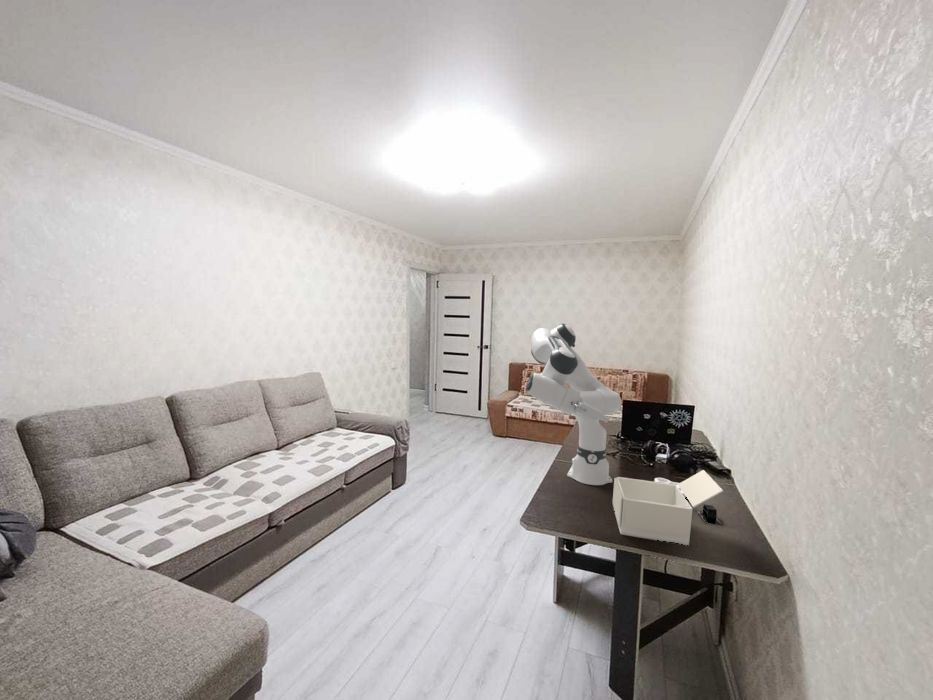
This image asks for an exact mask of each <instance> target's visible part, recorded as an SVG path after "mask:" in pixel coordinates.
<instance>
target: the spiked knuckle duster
mask: <svg viewBox="0 0 933 700" xmlns="http://www.w3.org/2000/svg"><path fill="white" fill-rule="evenodd" d="M653 482H660V483H667V484H674V485H676V486H677V487H678V488H679V490H680V491H681V493H682V494H683V496H684V497H685V498H686V496H685V495H684V493H683V492H682V490H681V489H680V487H679V486H678V484H679V483H680V482H676V481H675V482H674V481H671V480H669V479H667V478H664V477H655V478H654V480H653Z"/></svg>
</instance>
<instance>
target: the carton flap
mask: <svg viewBox="0 0 933 700" xmlns="http://www.w3.org/2000/svg"><path fill="white" fill-rule="evenodd" d="M678 483H679V484H678V486H679V487H680V489H681V490H682V492H683V493H684V495H685V498H686V497H687V498H686V499H688V500H689V502H688V503H689V504H690V505H691V507H692V508H696V507H698V506H699V505H702V504H703V503H705V502H707V501H709V500H711V499H712V498H714V497H716V496H718V495H720V494H721V493H723V492H724V490H723V489H722V488H721V487H720V485H719V484H718V483H717V482H716V481H715V480H714V479H713V478H712V477H711V476H710V475H709V474H708V473H707V472H706V471H705V470H704V469H702V470H700V471H699V472H697V473H696V474H693V475H691V476H690V477H688V478H687V479H685V480H683V481H681V482H678Z"/></svg>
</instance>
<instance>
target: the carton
mask: <svg viewBox="0 0 933 700" xmlns="http://www.w3.org/2000/svg"><path fill="white" fill-rule="evenodd" d="M613 479H614V480H613V492H612V493H613V494H612V507H613V512H614V511H615V512H614V515H615V518H616V524H617V526H618V529H619V530H618V531H619V533H620V535H622V536H627V537H635V538H641V539H645V540H646V539H647V540H653V541H657V540H659V541H658V542H663V541H666V542H665V543H669V542H675V543H679V544H678V545H681V544H683V546H687V545H688V546H690V536H691V529H692V526H691V525H692V517H693V506H692V505H691V503H690V502H688V501H687V500H686V499H687V498H686V496H685V497H684V496H683V494H682V493H681V491H680V490H679V488H678V487H677V486H676V485H674V484H667V483H660V482H654V480H653V481H652V480H645V479H636V478H630V477H623V476H622V477H621V476H617V477H614V478H613ZM685 498H686V499H685ZM675 543H674V544H675ZM688 546H687V547H688Z"/></svg>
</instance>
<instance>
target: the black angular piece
mask: <svg viewBox="0 0 933 700" xmlns="http://www.w3.org/2000/svg"><path fill="white" fill-rule="evenodd" d="M702 511H703V512H700V514H701V515H702V516H703V519H704V520H705V521H706V522H708V523H711V524H710V525H716V526H724V524H723V523H722V522H721V521H720V520H719V518H717V516H718V513H717V508H716V507H715V506H713V504H712V505H711V504H703V506H702ZM703 519H702V520H703ZM704 520H703V521H704ZM705 521H704V522H705ZM706 522H705V523H706Z"/></svg>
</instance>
